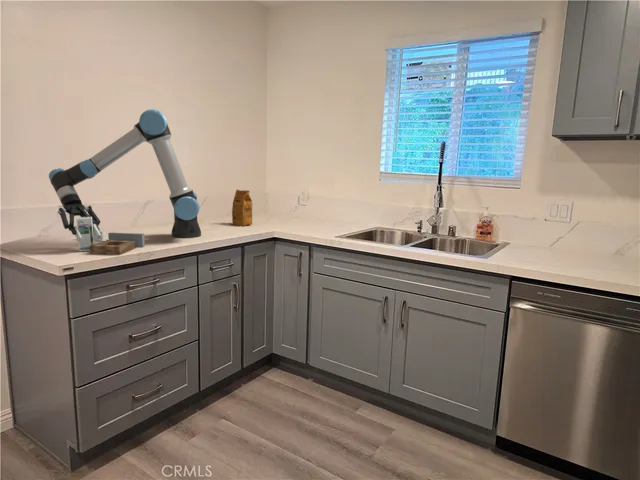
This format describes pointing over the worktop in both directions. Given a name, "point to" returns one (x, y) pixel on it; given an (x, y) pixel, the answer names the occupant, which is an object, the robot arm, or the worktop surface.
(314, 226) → the worktop surface
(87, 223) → the syrup box
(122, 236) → the backstop wall
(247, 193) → the coffee package
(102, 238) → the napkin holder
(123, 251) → the tray
